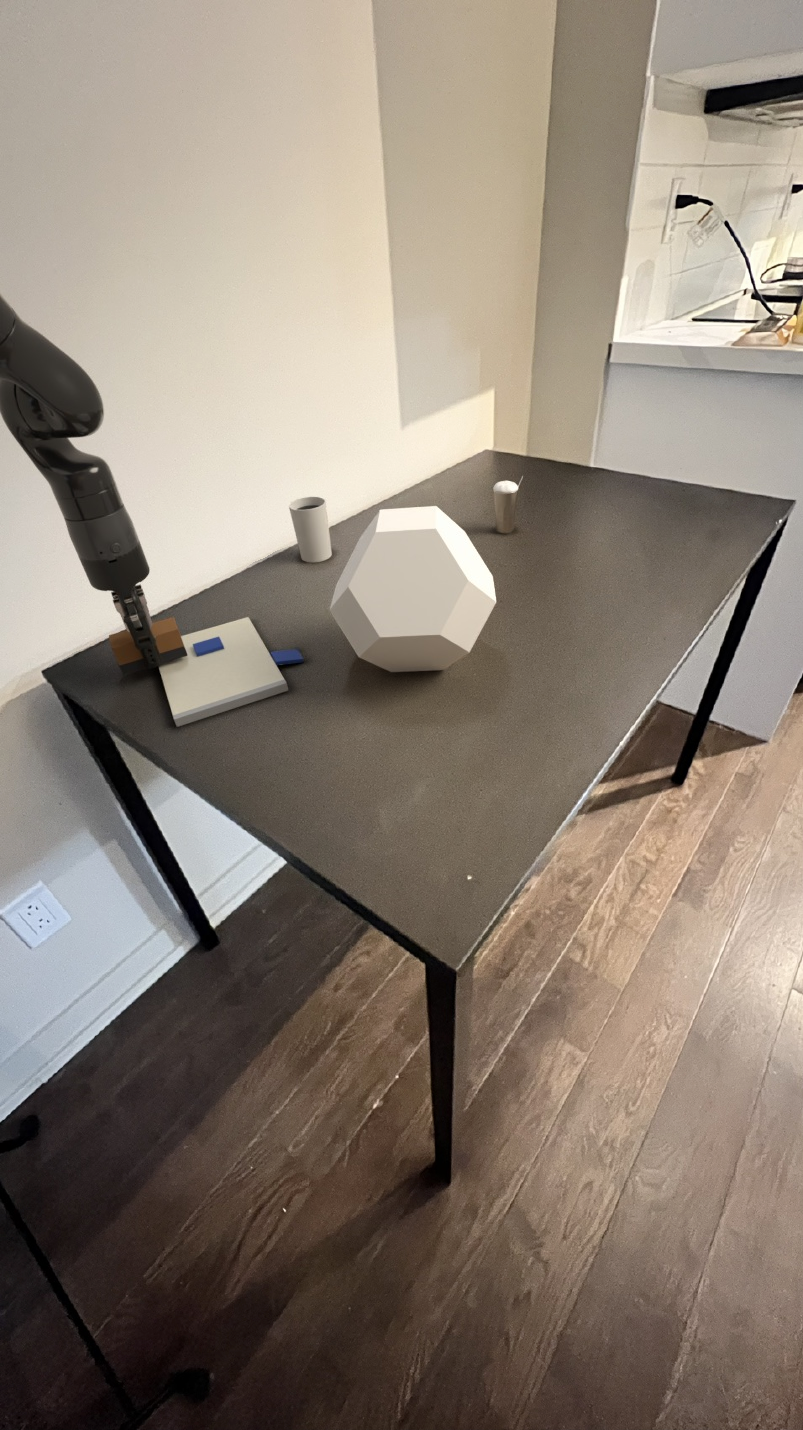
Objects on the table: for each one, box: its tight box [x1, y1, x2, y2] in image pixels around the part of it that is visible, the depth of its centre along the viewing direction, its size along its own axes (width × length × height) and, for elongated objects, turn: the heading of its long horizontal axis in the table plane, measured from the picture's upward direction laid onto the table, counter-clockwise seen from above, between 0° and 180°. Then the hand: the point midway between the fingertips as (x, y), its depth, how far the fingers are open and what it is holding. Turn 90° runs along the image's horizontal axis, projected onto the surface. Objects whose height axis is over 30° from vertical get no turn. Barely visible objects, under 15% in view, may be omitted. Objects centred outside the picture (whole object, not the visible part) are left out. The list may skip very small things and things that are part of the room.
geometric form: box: [328, 505, 497, 673], centre depth 82 cm, size 20×20×20 cm
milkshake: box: [492, 475, 524, 534], centre depth 116 cm, size 5×5×10 cm
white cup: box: [288, 496, 333, 563], centre depth 114 cm, size 7×7×10 cm
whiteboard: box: [158, 616, 289, 728], centre depth 89 cm, size 15×21×1 cm
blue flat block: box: [193, 637, 224, 657], centre depth 92 cm, size 4×3×1 cm
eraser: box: [108, 616, 188, 676], centre depth 88 cm, size 4×9×4 cm, turn 116°
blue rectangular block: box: [269, 648, 304, 666], centre depth 89 cm, size 4×3×1 cm
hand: (153, 657), depth 89 cm, fingers closed on eraser, 4 cm apart
